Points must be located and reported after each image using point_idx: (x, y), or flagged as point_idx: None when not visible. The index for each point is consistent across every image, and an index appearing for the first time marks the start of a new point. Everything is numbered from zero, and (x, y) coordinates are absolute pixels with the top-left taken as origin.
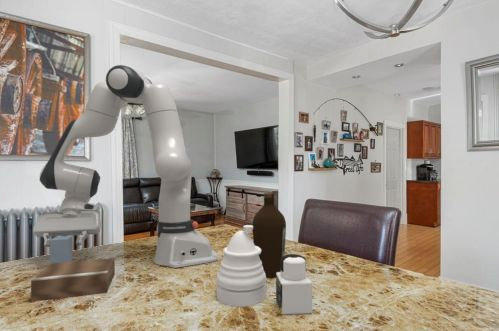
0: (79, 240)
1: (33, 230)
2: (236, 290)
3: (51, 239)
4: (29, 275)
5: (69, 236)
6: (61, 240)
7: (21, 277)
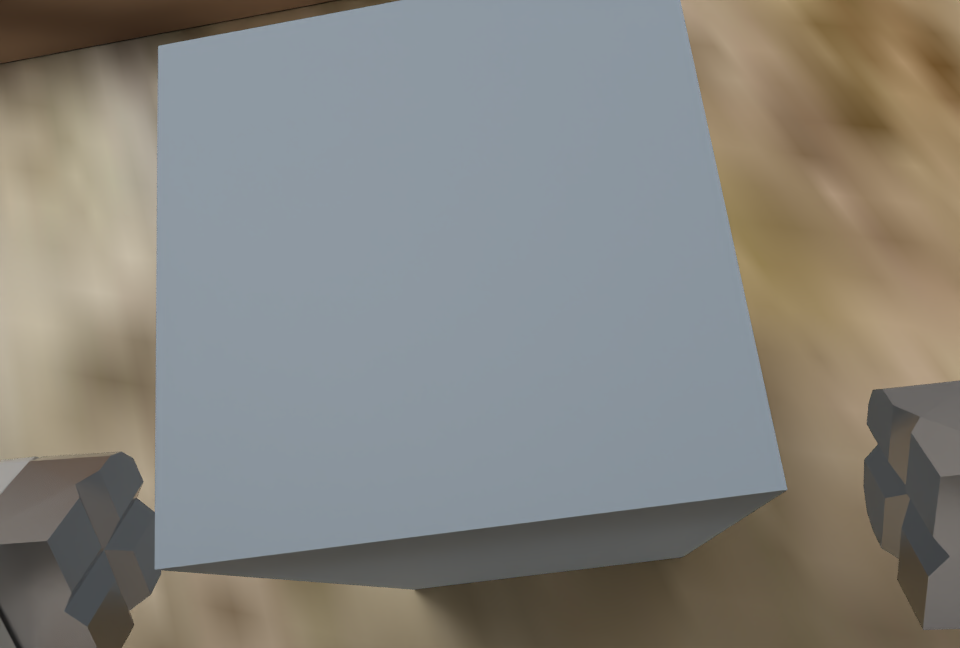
0: (3, 489)
1: None
2: None
3: (680, 56)
4: (862, 185)
5: (221, 445)
6: (344, 36)
7: (929, 120)
